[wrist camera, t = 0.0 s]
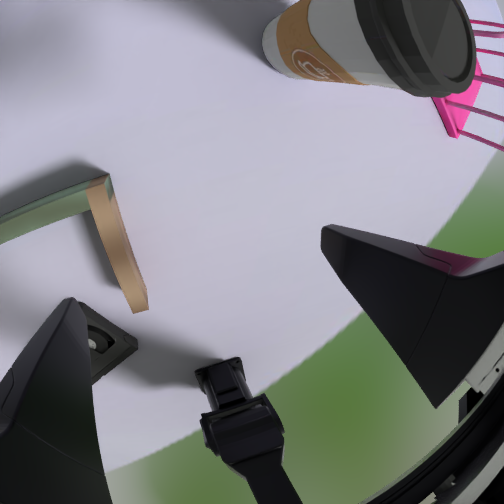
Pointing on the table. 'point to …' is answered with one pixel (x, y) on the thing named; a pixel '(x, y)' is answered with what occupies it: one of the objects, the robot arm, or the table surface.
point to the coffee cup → (376, 44)
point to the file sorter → (470, 95)
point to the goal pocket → (107, 221)
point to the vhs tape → (106, 343)
